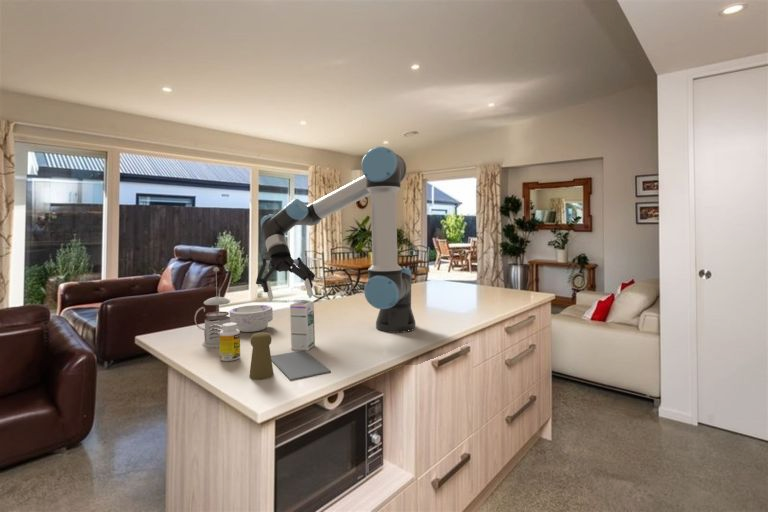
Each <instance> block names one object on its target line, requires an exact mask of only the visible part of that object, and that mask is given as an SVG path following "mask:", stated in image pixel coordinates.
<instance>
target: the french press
mask: <svg viewBox="0 0 768 512" xmlns="http://www.w3.org/2000/svg"><path fill="white" fill-rule="evenodd" d="M212 271H213V272H220V268H219V267H218V266H215V267H214V268H213V269H212ZM217 282H218V279H217V273H215V289H216V290H215V291H216V294H215V295H216V296H214V297H210V298H208V299H206V300H204V301H203V305H205V306H221V305H227V304H230V302H231V299H228V298H227V297H224V296H219V295H218V283H217ZM205 306H201V307H200V308H198V309H197V310H196V311H195V314H194V322H195V325H196V327H197V328H199V329H200V330H203V333H204V341H203V342H202V344H201V345H203V346H202V347H204V346H206V347H205V348H220V341H219V333H220V331H222V324H225V323H230V314H229V313H230V312H229V311H218V307H216V311H211V312H207V313H206V314H205V316H204V317H206V318H204V327H201V326H200V325H198V323H197V316H198V313H199V312H200V311H201V310H203V312H204V313H205V312H206V308H205Z"/></svg>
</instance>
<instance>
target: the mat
mask: <svg viewBox="0 0 768 512" xmlns="http://www.w3.org/2000/svg"><path fill="white" fill-rule="evenodd" d="M271 360H272V364H274V366H276V367H277V368H278V369H279V371H280V372H282V374H284V376H285V377H286V378H287V379H288V380H289V381H290V382H291V381H296V380H299V379H300V378H301V379H305V378H304V377H306V378H309V376H310V377H314V376H319V375H324V374H329V373H332V370H331V369H329V368H328V367H326V365H324V364H323V363H322V362H320V361H319V360H318V359H317V358H315V357H314V356H313V355H312V354H310V353H309V352H307V350H296V351H291V352H285V353H280V354H275V355H271ZM295 379H296V380H295Z"/></svg>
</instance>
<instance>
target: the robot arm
mask: <svg viewBox="0 0 768 512" xmlns="http://www.w3.org/2000/svg"><path fill="white" fill-rule="evenodd" d="M361 171H362V174H363V175H362V176H360V177H358V178H357V179H354V180H353V181H350V182H349V183H346V184H345V185H343V186H341V187H338V189H336V190H333V191H332V192H330V193H328V194H326V195H324V196H322V197H321V198H319V199H316V200H315V201H313V202H310V203H309V204H307V205H306V203H304V202H303V201H302V200H300V199H299V198H294V199H292V200H291V201H290V202H287V204H286V205H285V206H283V208H282V209H280V210H279V212H277V213H276V214H273V213H269V214H267V215H264V216H263V217H262V218H261V219H260V227H261V233H262V235H263V236H262V237H263V238H264V243H265V248H266V249H267V254H268V258H269V260H267V259H266V258H262V260H261V264H260V265H261V266H260V267H261V268H260V269H259V271H258V272H259V273H258V274H257V277H256V281H255V284H256V285H261V287H262V289H263V292H264V293H267V298H268V302H269V303H270V302H273V298H274V295H273V290H272V286H271V283H270V279H271V278H272V277H273V275H274V274H276V272H279V273H283V272H289V273H293V275H295V276H297V277H298V278H300V279H301V280H303V281H304V286H305V289H306V292H307V293H306V294H307V296H308V298H309V299H312V297H313V294H314V292H313V287H314V284H313V281H314V279H315V277H316V274H315V273H314V272H313V271H312V270H311V269H310V268H309V267H308V266H307V265H306V264H305V263H304V262H303V261H302V258H301V257H300V256H299V257H297V258H296V259H295V258H294V259H293V258H292V256H291V252H290V249H289V245H288V242H287V239H286V236H285V234H286V233H288V231H290V230H291V229H293V228H294V227H295V226H317V225H318V224H320V222H321V221H322V220H324V219H325V218H327V217H329V216H332V215H333V214H335V213H337V212H339V211H341V210H343V209H344V208H348V207H349V206H351V205H353V204H355V203H357V202H358V201H359V202H360V201H361V200H363V199H365V198H367V197H369V196H370V201H371V202H370V207H371V252H372V253H371V254H372V255H371V258H372V259H371V260H372V261H371V263H372V264H371V265H370V266H369V267H368V269H367V276H368V279H367V281H366V283H365V284H364V288H363V289H364V290H363V294H364V298H365V300H366V302H368V304H370V305H371V306H372V307H373V308H376V309H377V310H379V312H378V314H377V318H376V321H375V328H376V329H377V330H379V331H382V332H386V333H387V332H388V333H404V332H403V331H407V332H409V331H408V330H411V331H413V330H412V329H414V328H415V329H416V318H415V316H414V313H413V310H412V279H413V277H412V271H411V268H408V267H407V268H406V267H402V266H400V265H399V263H398V229H397V226H398V224H397V223H398V222H397V220H398V217H397V216H398V215H397V193H398V192H399V191H400V190H401V183H402V182H403V180H404V179H405V177H406V174H407V165H406V162H405V160H404V158H402V157H401V155H399V154H397V153H396V152H394V150H392V149H391V148H388V147H385V146H376V147H375V146H374V147H372V148H371V149H369V150H368V151H367V152H366V153H365V154H364V156H363V158H362V160H361ZM268 266H270V267H271V268H270V269H269V271H268V272H267V274H266V275H264V273H265V270H266V268H267V267H268ZM263 275H264V277H263ZM262 277H263V278H262ZM415 329H414V330H415Z"/></svg>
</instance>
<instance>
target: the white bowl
mask: <svg viewBox="0 0 768 512" xmlns="http://www.w3.org/2000/svg"><path fill="white" fill-rule="evenodd" d="M228 313H229V314H228V315H229V317H230V323H231V322H232V323H237V329H238V330H239V331H240V333H242V332H243V333H254V332H255V333H256V332H260V331H263V330H265V329H266V328H267V327H268V324H269V323H271V322H272V321H273V319H274V316H273V315H274V314H273V307H272V306H271V305H269V304H268V305H266V304H251V305H249V304H248V305H242V306H237V307H233V308H231V309H230V310H229V312H228Z"/></svg>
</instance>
